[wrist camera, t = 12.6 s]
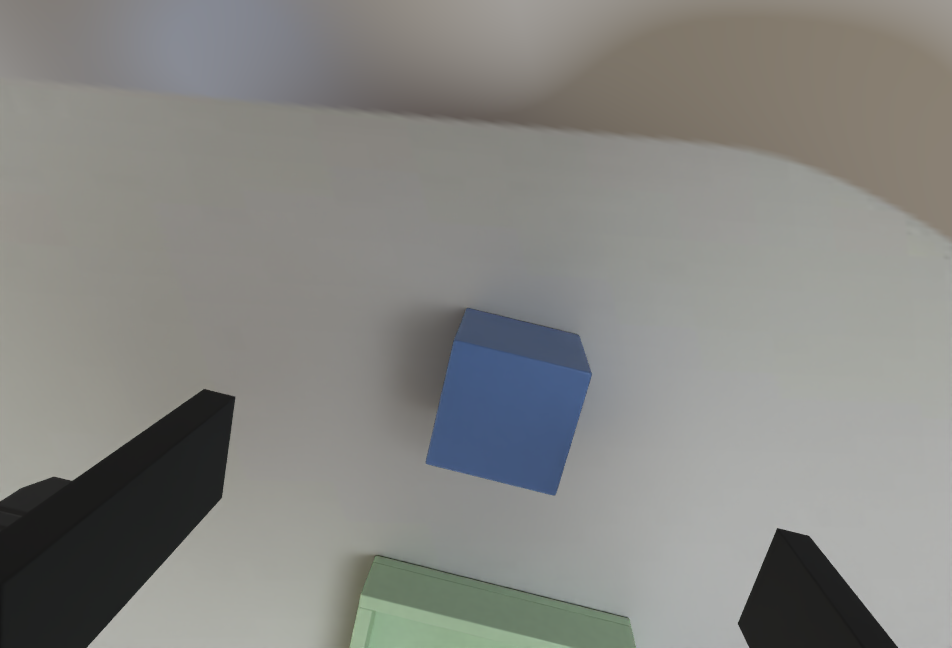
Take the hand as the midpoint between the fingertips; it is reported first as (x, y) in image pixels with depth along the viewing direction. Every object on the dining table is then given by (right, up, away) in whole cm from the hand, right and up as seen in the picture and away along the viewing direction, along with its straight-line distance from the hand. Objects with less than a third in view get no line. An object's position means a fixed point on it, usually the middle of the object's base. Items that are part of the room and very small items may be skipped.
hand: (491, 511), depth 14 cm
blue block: (+1, +2, +9) cm, 9 cm away
